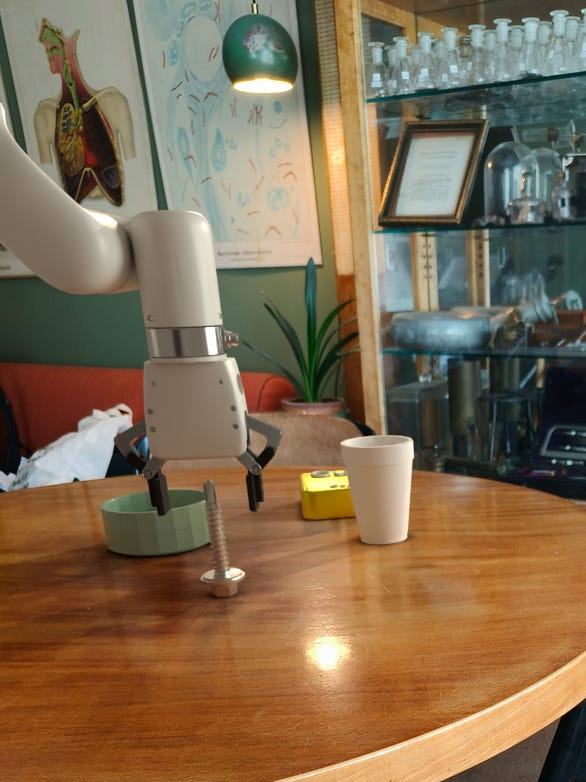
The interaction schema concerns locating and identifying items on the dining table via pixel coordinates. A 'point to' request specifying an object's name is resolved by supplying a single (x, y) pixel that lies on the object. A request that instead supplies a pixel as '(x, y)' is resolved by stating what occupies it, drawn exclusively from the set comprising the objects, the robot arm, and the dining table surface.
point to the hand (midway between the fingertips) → (210, 511)
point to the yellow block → (325, 495)
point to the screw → (218, 549)
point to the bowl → (155, 523)
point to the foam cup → (380, 485)
